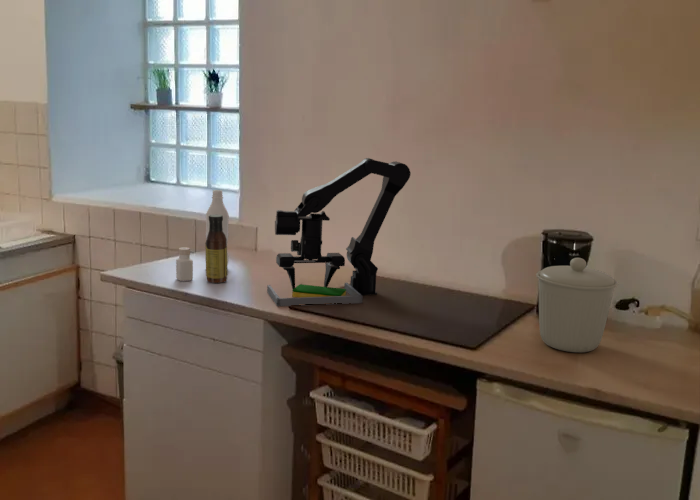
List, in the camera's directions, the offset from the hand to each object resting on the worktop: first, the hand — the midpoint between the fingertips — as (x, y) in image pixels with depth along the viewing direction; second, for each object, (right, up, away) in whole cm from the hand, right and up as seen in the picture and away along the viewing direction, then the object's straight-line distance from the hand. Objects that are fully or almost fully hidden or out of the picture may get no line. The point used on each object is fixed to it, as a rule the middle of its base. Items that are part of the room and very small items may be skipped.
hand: (309, 289), depth 204 cm
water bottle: (-31, +5, +24) cm, 39 cm away
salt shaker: (-37, +2, +8) cm, 39 cm away
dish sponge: (+3, -2, -2) cm, 4 cm away
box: (+2, -2, -4) cm, 5 cm away
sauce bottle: (-28, +2, +8) cm, 29 cm away
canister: (+63, -11, -36) cm, 73 cm away
